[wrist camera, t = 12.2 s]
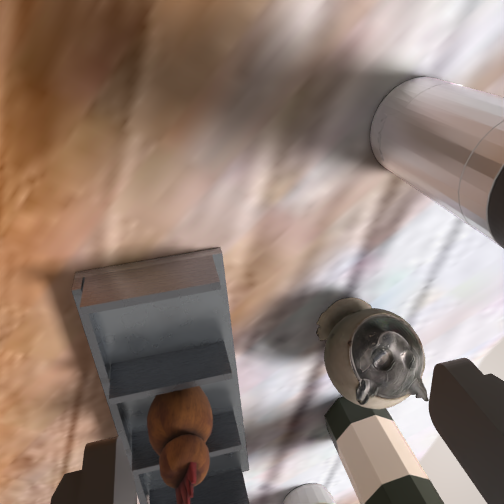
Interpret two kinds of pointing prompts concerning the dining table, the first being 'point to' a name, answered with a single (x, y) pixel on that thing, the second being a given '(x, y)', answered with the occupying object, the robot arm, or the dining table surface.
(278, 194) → the dining table surface
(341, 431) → the wine bottle
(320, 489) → the coffee cup
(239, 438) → the grey shelf
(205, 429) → the wooden figurine
